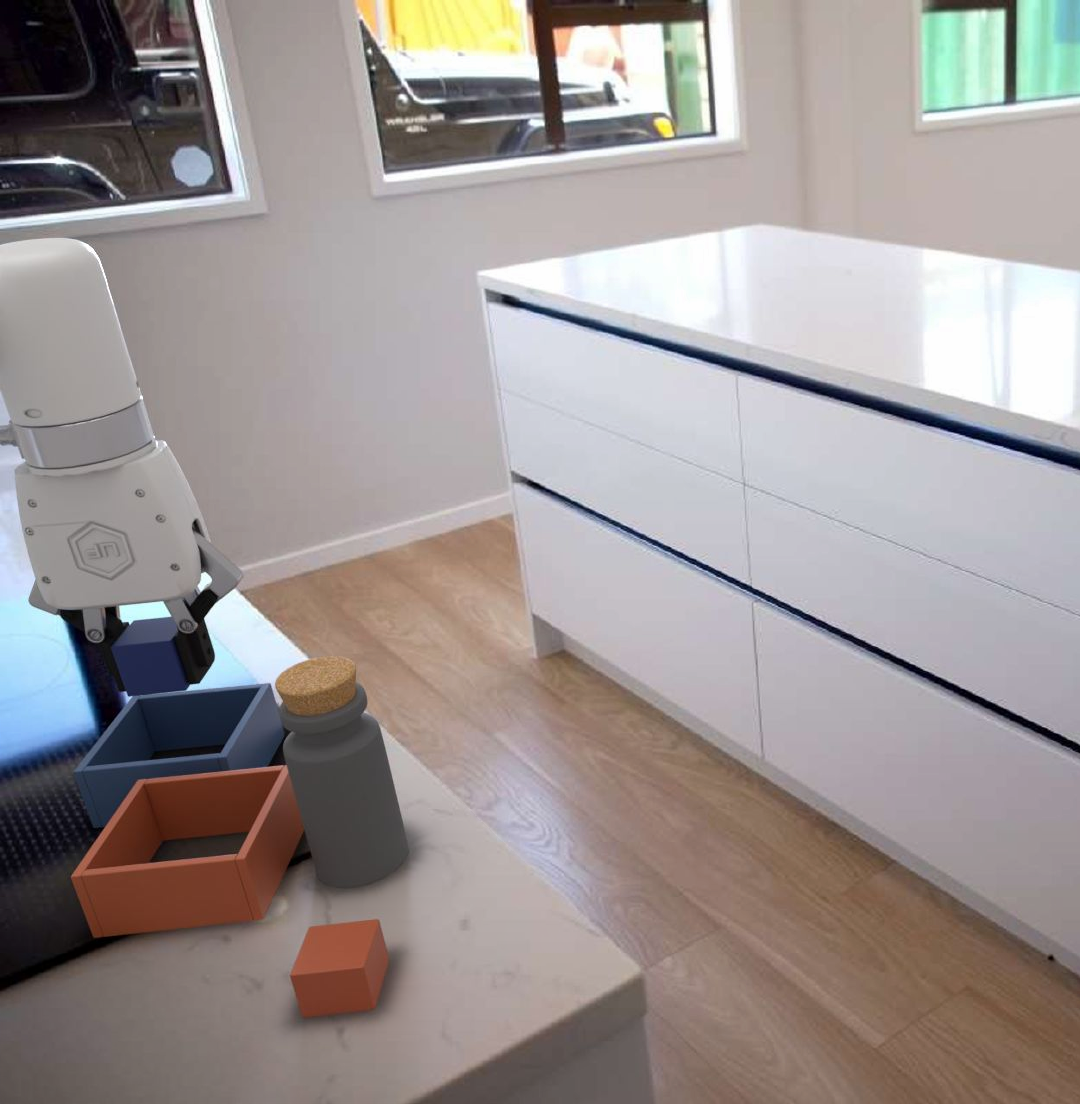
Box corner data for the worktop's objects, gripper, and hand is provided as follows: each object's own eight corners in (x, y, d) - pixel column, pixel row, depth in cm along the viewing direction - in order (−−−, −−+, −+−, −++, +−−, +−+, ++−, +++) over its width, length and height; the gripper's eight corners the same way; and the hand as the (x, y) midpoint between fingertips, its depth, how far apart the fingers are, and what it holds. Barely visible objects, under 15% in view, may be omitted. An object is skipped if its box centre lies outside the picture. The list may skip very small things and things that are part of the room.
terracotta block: (305, 1030, 70) (289, 975, 69) (324, 979, 74) (308, 926, 72) (378, 1021, 71) (363, 967, 69) (392, 971, 74) (379, 918, 73)
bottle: (300, 894, 81) (243, 694, 75) (352, 838, 86) (302, 647, 80) (380, 904, 80) (329, 702, 74) (428, 847, 85) (383, 654, 79)
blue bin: (96, 838, 88) (72, 772, 86) (153, 757, 97) (132, 695, 95) (246, 823, 89) (226, 756, 86) (287, 744, 98) (270, 682, 96)
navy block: (127, 697, 87) (110, 647, 86) (149, 668, 91) (133, 619, 89) (186, 690, 88) (170, 640, 86) (206, 662, 91) (191, 614, 90)
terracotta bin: (97, 949, 78) (70, 876, 75) (160, 847, 87) (137, 779, 84) (266, 931, 78) (244, 858, 76) (311, 831, 87) (292, 764, 85)
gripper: (-79, 468, 78) (20, 719, 85) (198, 442, 79) (271, 693, 86) (-17, 428, 84) (69, 665, 92) (237, 405, 86) (301, 641, 93)
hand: (166, 676), depth 89 cm, fingers closed on navy block, 4 cm apart
